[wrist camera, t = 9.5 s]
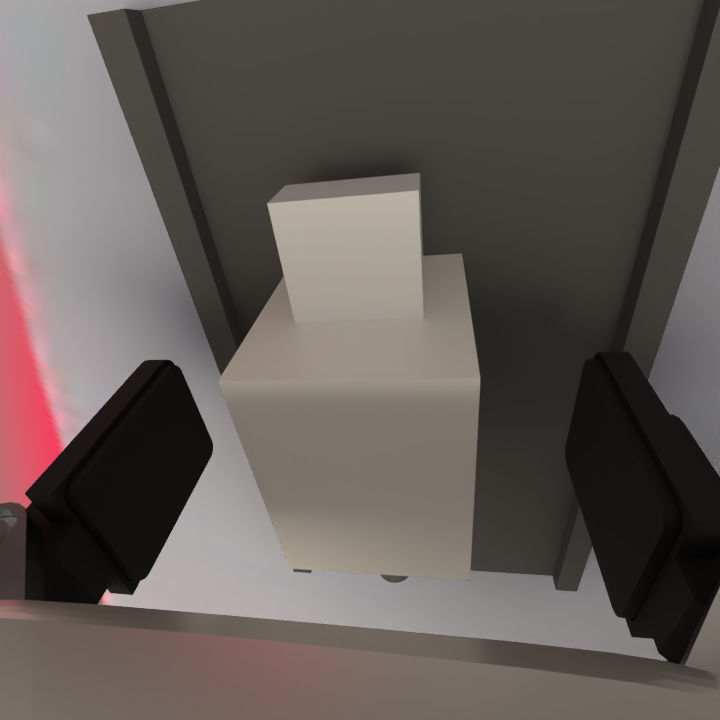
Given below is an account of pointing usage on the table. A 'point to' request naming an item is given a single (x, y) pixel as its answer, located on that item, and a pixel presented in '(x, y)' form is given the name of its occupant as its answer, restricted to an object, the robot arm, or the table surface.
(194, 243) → the dark grey flat tray
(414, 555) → the plug
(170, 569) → the table surface
